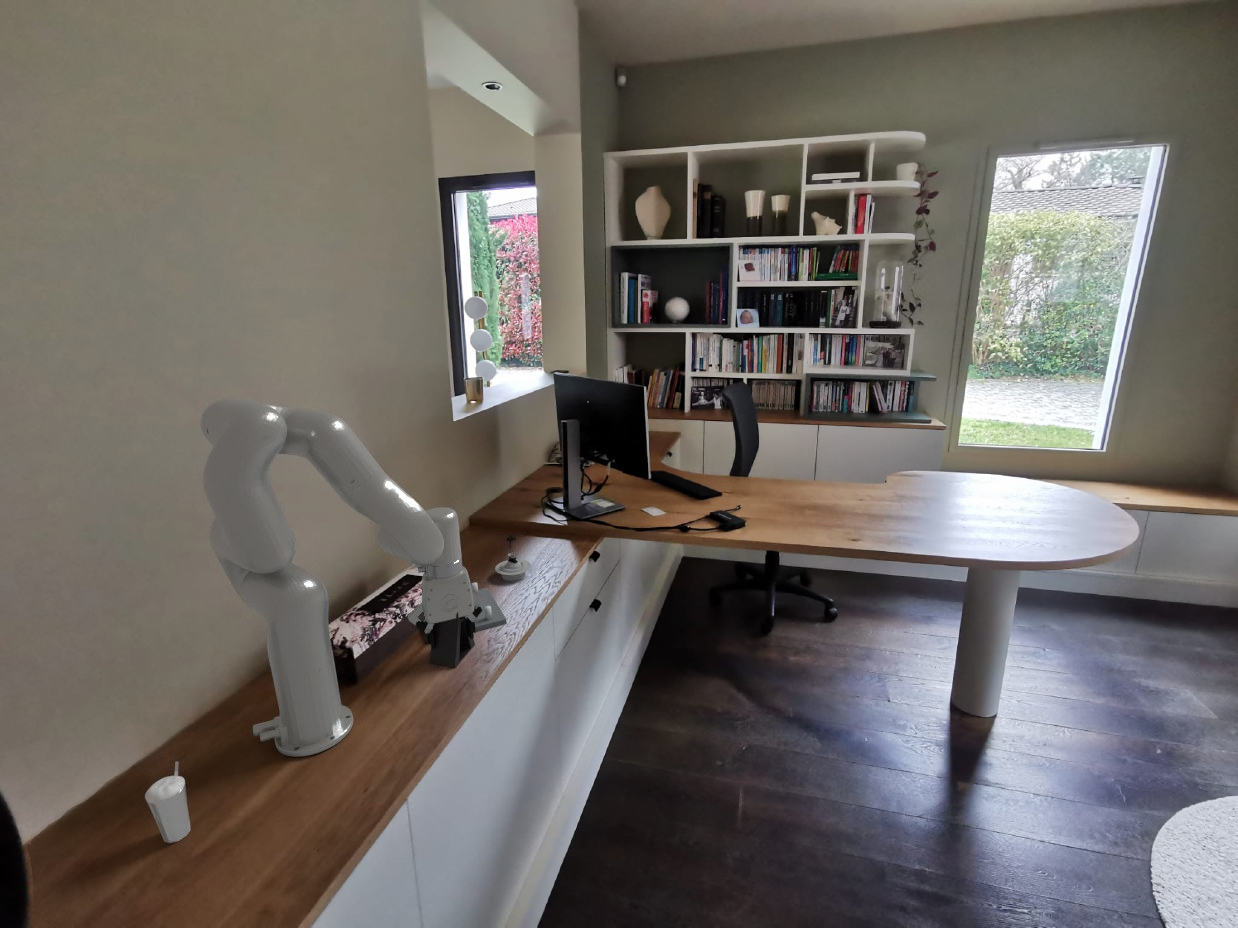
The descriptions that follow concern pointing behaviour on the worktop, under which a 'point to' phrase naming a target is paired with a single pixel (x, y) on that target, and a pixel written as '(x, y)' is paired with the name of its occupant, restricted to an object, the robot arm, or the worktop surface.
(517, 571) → the grey spinning top
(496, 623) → the base plate
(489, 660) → the worktop surface
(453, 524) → the robot arm
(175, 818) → the milkshake
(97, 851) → the worktop surface
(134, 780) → the worktop surface
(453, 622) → the phone stand
